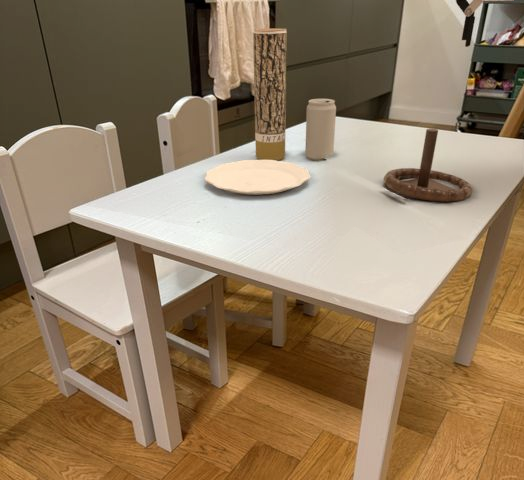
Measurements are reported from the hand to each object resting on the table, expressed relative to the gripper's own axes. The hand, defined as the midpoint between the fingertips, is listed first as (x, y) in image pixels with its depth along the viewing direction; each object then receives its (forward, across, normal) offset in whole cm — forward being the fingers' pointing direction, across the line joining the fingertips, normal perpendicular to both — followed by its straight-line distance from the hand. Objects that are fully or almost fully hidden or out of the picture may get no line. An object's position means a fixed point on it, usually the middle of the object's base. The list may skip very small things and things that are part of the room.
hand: (499, 45), depth 79 cm
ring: (+22, +8, +1) cm, 23 cm away
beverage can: (+24, +32, -18) cm, 44 cm away
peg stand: (+24, +8, +1) cm, 25 cm away
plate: (+23, +40, +3) cm, 47 cm away
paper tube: (+24, +43, -14) cm, 51 cm away
